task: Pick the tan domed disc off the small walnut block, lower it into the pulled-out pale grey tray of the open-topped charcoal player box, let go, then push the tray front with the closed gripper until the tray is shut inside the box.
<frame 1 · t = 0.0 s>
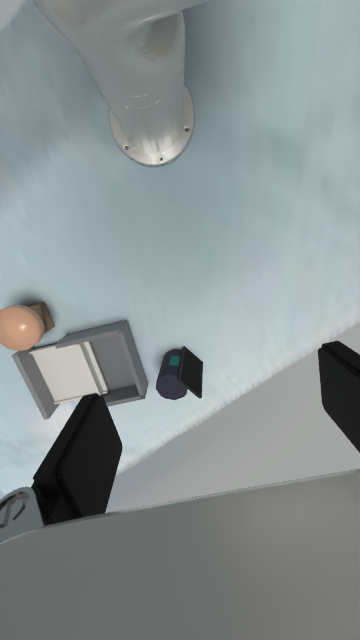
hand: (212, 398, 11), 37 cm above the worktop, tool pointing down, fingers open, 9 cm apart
speaker: (179, 362, 52), on the worktop
housing: (107, 360, 51), on the worktop
tray: (65, 375, 49), point 3 cm above the worktop, slide at 7.0 cm
tan domed disc: (22, 325, 44), point 5 cm above the worktop, touching brown wooden cube
brown wooden cube: (37, 317, 48), on the worktop
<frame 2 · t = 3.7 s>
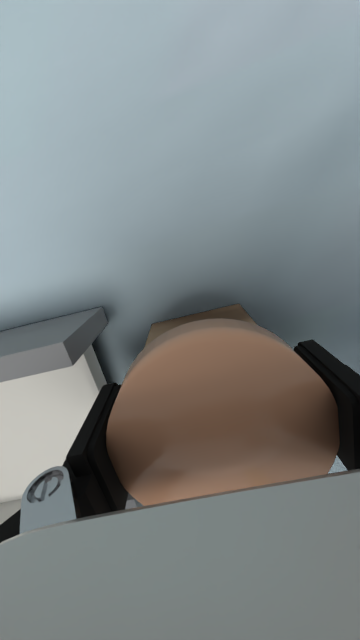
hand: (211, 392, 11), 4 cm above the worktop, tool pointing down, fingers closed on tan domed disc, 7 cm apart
tray: (4, 455, 14), point 3 cm above the worktop, slide at 7.0 cm
tan domed disc: (214, 408, 10), point 5 cm above the worktop, touching gripper, brown wooden cube
brown wooden cube: (204, 353, 15), on the worktop
when the fingers open (3 cm above the worktop, at t = 8.8 s): tan domed disc drops 2 cm, resting on tray.
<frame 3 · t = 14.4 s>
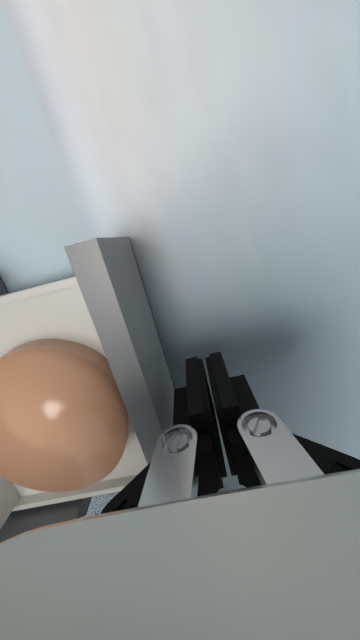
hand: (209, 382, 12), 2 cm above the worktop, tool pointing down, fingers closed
tray: (41, 420, 12), point 3 cm above the worktop, slide at 5.7 cm, touching tan domed disc, gripper
tan domed disc: (62, 404, 13), point 1 cm above the worktop, touching tray
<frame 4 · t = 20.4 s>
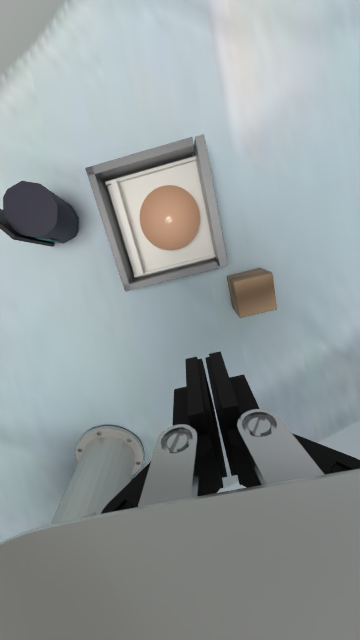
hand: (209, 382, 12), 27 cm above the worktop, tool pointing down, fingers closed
speaker: (56, 217, 35), on the worktop
housing: (161, 222, 35), on the worktop
tray: (166, 219, 32), point 3 cm above the worktop, slide at 0.0 cm, touching tan domed disc
tan domed disc: (170, 219, 33), point 1 cm above the worktop, touching tray
brown wooden cube: (246, 288, 38), on the worktop
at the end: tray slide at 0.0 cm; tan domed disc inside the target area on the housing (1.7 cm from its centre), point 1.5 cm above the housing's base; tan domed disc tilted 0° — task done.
